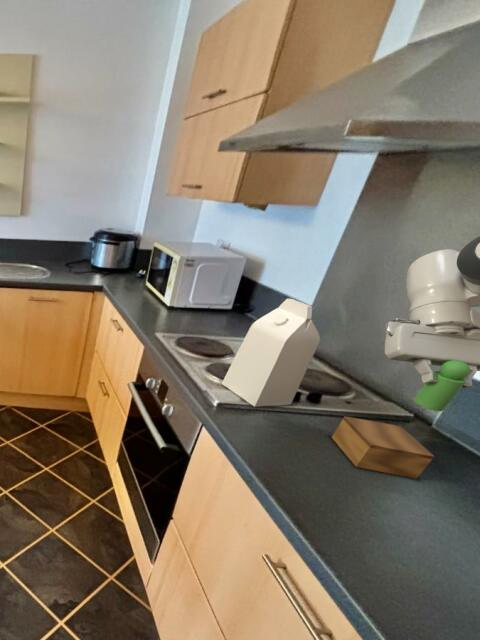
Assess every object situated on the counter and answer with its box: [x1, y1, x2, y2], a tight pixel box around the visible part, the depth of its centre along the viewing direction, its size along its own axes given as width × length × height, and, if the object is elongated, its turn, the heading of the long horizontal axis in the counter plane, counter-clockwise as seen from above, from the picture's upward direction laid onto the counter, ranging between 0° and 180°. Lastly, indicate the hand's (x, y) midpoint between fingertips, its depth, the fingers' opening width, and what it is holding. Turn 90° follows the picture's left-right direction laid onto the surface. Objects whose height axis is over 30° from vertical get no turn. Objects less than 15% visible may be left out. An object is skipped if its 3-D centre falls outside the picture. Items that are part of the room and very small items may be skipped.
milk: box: [221, 298, 321, 408], centre depth 107 cm, size 12×12×26 cm
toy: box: [412, 360, 470, 412], centre depth 85 cm, size 5×5×10 cm
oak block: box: [331, 416, 435, 479], centre depth 90 cm, size 11×11×6 cm
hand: (447, 384), depth 85 cm, fingers closed on toy, 5 cm apart
